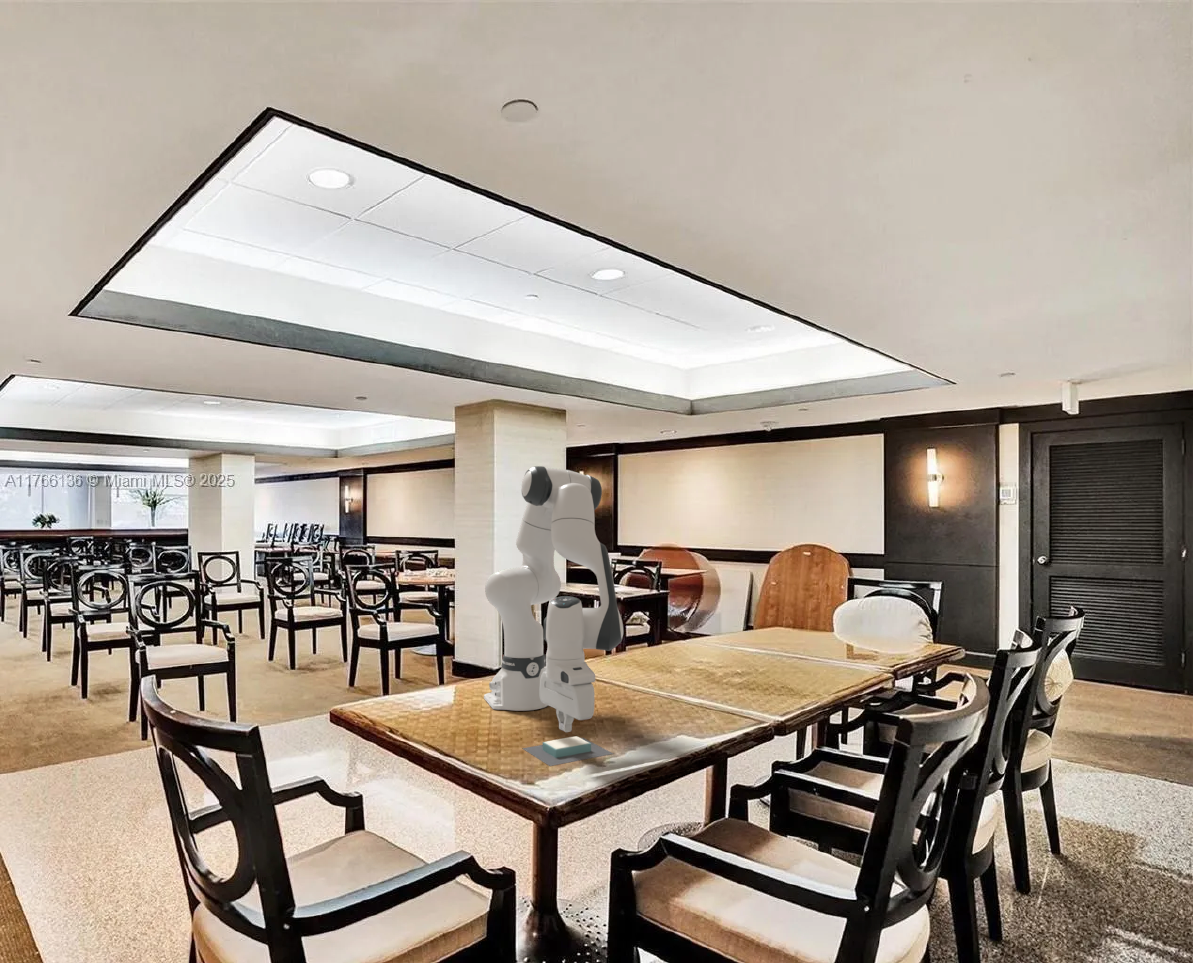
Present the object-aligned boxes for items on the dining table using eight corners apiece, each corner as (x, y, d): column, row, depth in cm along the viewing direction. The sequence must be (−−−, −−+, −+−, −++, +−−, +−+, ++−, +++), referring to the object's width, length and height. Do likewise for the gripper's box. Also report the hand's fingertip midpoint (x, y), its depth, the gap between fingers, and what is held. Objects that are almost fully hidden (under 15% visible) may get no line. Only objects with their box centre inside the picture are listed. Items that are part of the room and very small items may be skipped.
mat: (522, 751, 174) (522, 748, 174) (583, 740, 182) (583, 737, 182) (549, 768, 162) (549, 766, 162) (613, 756, 170) (613, 753, 170)
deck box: (542, 741, 173) (555, 749, 167) (577, 735, 177) (591, 743, 172) (542, 750, 173) (555, 758, 167) (577, 743, 177) (591, 751, 172)
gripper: (533, 663, 181) (533, 721, 180) (574, 679, 163) (574, 744, 163) (556, 660, 184) (556, 718, 183) (599, 675, 166) (599, 739, 166)
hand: (565, 730), depth 173 cm, fingers closed
